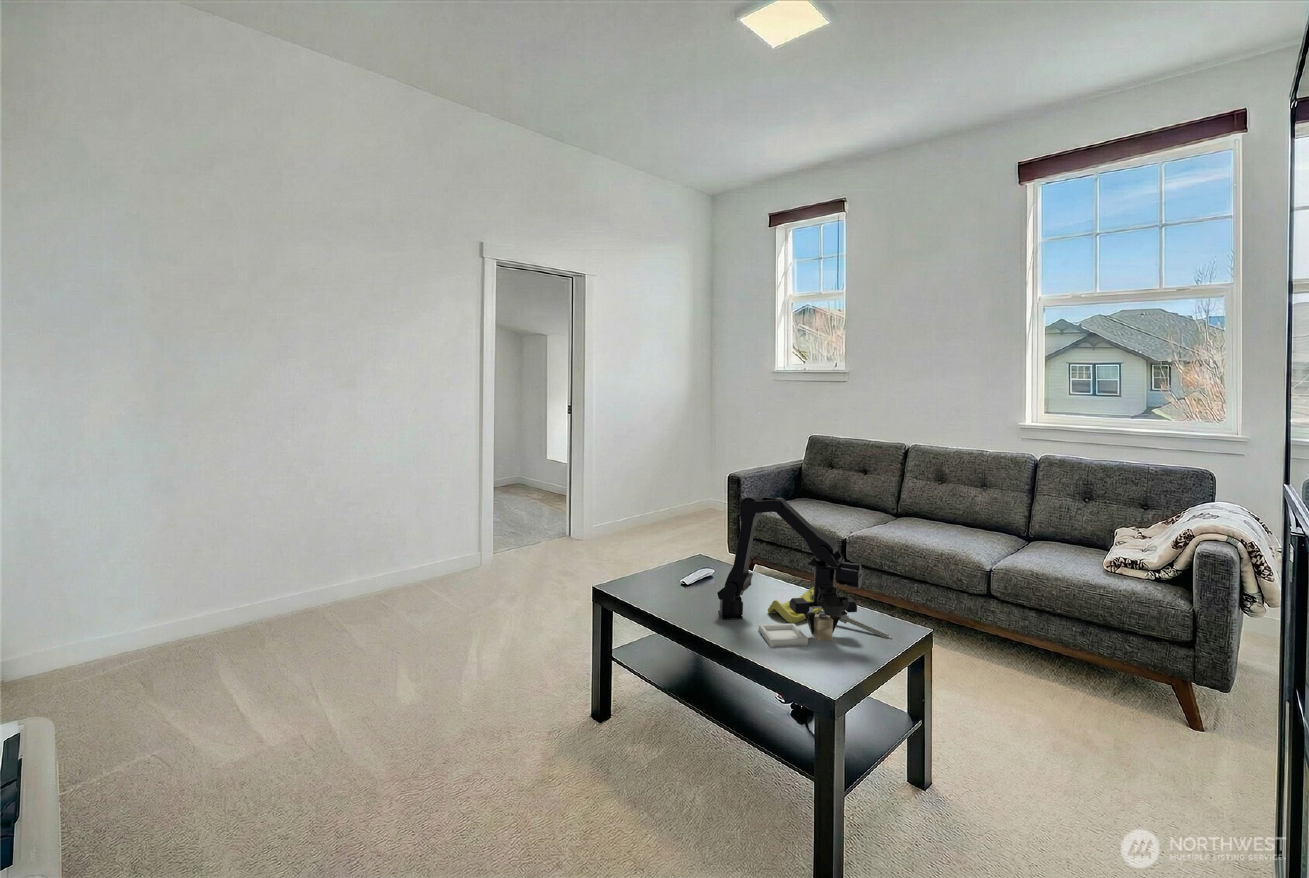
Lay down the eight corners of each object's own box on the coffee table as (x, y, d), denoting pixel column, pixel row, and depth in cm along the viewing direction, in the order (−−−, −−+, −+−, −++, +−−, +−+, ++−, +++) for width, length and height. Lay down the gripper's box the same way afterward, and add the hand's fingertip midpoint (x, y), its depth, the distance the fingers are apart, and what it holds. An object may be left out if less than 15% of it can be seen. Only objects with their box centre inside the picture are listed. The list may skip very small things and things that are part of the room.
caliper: (824, 623, 187) (824, 603, 187) (825, 622, 188) (826, 602, 187) (891, 640, 175) (892, 619, 174) (892, 639, 176) (893, 618, 175)
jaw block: (817, 640, 173) (818, 617, 173) (811, 634, 178) (812, 611, 177) (832, 639, 174) (833, 616, 173) (825, 633, 178) (826, 610, 178)
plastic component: (793, 619, 183) (772, 596, 190) (786, 635, 187) (765, 613, 194) (835, 602, 195) (813, 581, 201) (827, 618, 198) (806, 597, 205)
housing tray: (770, 646, 168) (770, 639, 168) (758, 631, 179) (758, 624, 179) (807, 645, 170) (808, 638, 169) (793, 629, 180) (794, 623, 180)
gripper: (803, 591, 165) (801, 646, 167) (867, 590, 168) (864, 643, 169) (789, 578, 176) (787, 630, 178) (849, 577, 179) (847, 628, 180)
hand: (821, 633), depth 176 cm, fingers open, 6 cm apart
